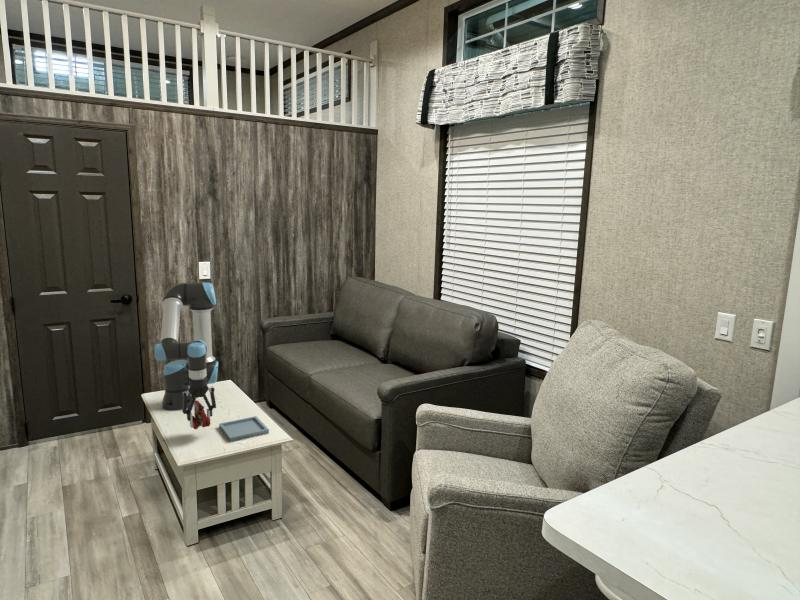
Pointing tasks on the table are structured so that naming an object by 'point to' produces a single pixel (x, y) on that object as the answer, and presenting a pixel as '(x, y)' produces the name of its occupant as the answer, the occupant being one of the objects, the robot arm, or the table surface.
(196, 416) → the toy fire truck
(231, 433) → the tray
